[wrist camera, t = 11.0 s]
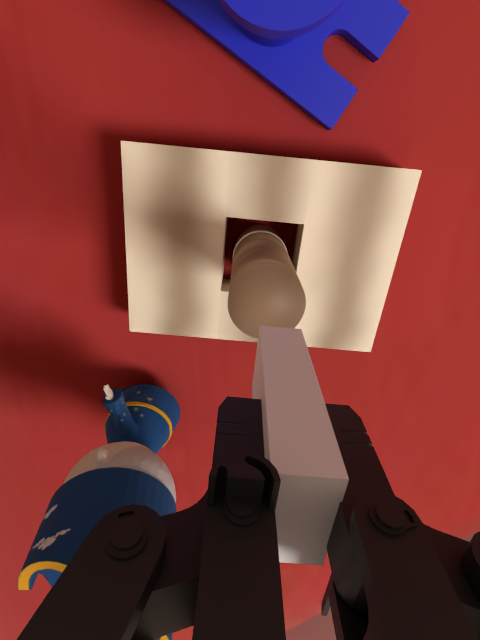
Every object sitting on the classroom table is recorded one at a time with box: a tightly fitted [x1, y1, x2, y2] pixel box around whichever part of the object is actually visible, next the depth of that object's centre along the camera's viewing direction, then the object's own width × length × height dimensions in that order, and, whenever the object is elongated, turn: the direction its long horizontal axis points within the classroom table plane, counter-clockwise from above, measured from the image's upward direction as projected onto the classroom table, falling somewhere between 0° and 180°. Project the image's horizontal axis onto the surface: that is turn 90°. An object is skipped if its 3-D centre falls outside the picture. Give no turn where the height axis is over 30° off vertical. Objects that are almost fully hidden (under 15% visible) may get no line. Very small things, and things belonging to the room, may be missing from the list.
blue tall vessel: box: [18, 384, 180, 640], centre depth 26 cm, size 13×9×20 cm
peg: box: [228, 224, 306, 338], centre depth 23 cm, size 4×4×12 cm
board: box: [121, 141, 422, 352], centre depth 28 cm, size 20×14×3 cm
